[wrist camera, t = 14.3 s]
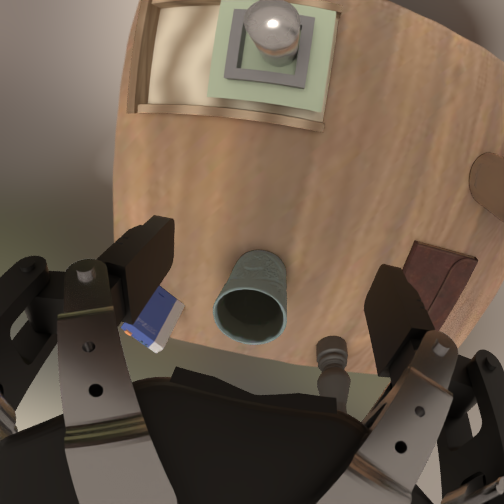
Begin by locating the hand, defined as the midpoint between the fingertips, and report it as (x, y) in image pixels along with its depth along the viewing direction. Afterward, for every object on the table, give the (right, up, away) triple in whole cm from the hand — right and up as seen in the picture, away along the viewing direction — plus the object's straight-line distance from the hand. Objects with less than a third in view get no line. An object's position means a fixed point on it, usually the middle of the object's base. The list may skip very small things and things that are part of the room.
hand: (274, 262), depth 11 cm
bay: (-3, +27, +21) cm, 35 cm away
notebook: (+32, -7, +36) cm, 48 cm away
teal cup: (0, -3, +38) cm, 38 cm away
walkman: (-17, -8, +44) cm, 48 cm away
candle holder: (+15, -19, +44) cm, 50 cm away
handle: (+2, +22, +15) cm, 27 cm away
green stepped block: (+2, +25, +20) cm, 32 cm away
